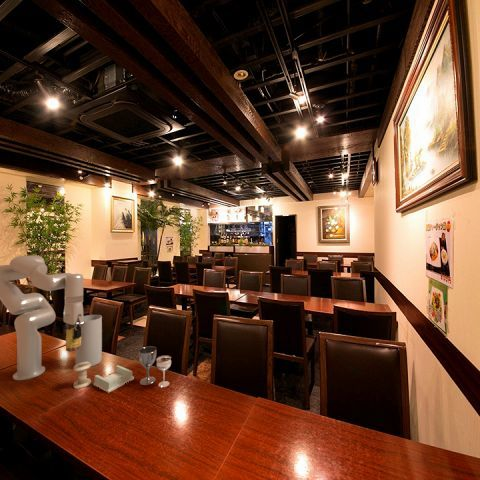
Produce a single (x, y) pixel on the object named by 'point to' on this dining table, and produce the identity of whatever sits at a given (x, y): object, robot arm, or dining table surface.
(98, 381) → the notched board
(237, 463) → the dining table surface
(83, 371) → the bobbin
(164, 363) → the wineglass
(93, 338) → the cylinder vase
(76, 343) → the sauce bottle
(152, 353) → the wine glass
